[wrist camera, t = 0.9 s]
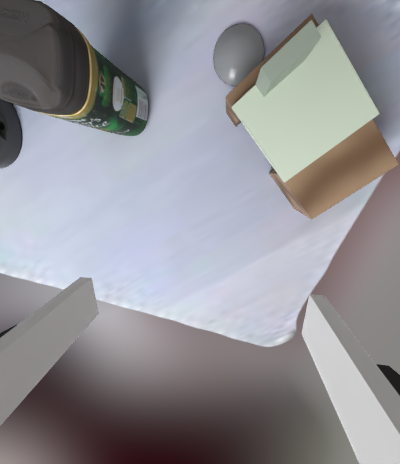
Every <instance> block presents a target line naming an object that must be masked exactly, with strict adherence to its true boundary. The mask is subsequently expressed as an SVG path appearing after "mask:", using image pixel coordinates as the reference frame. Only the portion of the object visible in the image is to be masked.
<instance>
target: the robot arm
mask: <svg viewBox="0 0 400 464" xmlns="http://www.w3.org/2000/svg"><path fill="white" fill-rule="evenodd" d="M21 142H22V135H21V127H20V123H19V120H18V117H17V114H16V112H15V110H14V108H13V106H12V105H11V103H10V102H7V101H5V100H3V99H0V168H4V167H7V166H9V165H10V164H12V163H13V162H14V161H15V159H16V158H17V156H18V154H19V152H20V148H21ZM97 315H98V308H97V303H96V298H95V293H94V288H93V283H92V278H83V277H80V278H79V279H78V280H76V281H75V282H74V283H72V284H71V285H70V286H68V287H67V288H66V289H64V290H63V291H62V292H61V293H59V294H58V295H57V296H55V297H54V298H53V299H51V300H50V301H49V302H47V303H46V304H45V305H43V306H42V307H41V308H39V309H38V310H37V311H36V312H34V313H33V314H31V315H30V316H29V317H27V318H26V319H25V320H24V321H22V322H21V323H19V324H18V325H15V326H13V327H11V328H9V329H8V330H6V331H4V332H2V333H1V334H0V425H1V424H2V423H3V422H4V421H5V420H6V419H7V417H8V416H9V415H10V414H11V413H12V412H13V411H14V409H15V408H16V407H17V406H18V405H19V404H20V403H21V401H22V400H23V399H24V398H25V397H26V396H27V395H28V394H29V392H30V391H31V390H32V389H33V388H34V387H35V386H36V384H37V383H38V382H39V381H40V380H41V379H42V378H43V376H44V375H45V374H46V373H47V372H48V371H49V370H50V368H51V367H52V366H53V365H54V364H55V363H56V362H57V360H58V359H59V358H60V357H61V356H62V355H63V354H64V352H65V351H66V350H67V349H68V348H69V347H70V346H71V344H72V343H73V342H74V341H75V340H76V339H77V338H78V336H79V335H80V334H81V333H82V332H83V330H85V328H86V327H87V326H88V325H89V324H90V323H91V322H92V320H93V319H94V318H95V317H96V316H97ZM302 336H303V338H304V340H305V342H306V344H307V347H308V349H309V351H310V354H311V356H312V358H313V360H314V363H315V365H316V367H317V369H318V372H319V374H320V376H321V378H322V381H323V383H324V385H325V387H326V389H327V392H328V393H329V396H330V398H331V401H332V403H333V405H334V407H335V410H336V412H337V414H338V417H339V419H340V421H341V423H342V425H343V428H344V430H345V432H346V434H347V437H348V439H349V441H350V443H351V446H352V448H353V450H354V452H355V455H356V457H357V459H358V461H359V464H400V375H399V374H398V373H397V372H395V371H394V370H393V369H392V368H391V367H389V366H385V365H377V364H375V362H374V361H373V360H372V358H371V357H370V356H369V354H368V353H367V352H366V351H365V349H364V348H363V346H362V345H361V344H360V342H359V341H358V340H357V338H356V337H355V336H354V335H353V333H352V332H351V330H350V329H349V328H348V327H347V325H346V324H345V323H344V321H343V320H342V319H341V317H340V316H339V314H338V313H337V312H336V310H335V309H334V308H333V306H332V305H331V304H330V303H329V301H328V300H327V299H326V297H325V296H323V295H309V300H308V305H307V310H306V315H305V320H304V325H303V329H302Z"/></svg>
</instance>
